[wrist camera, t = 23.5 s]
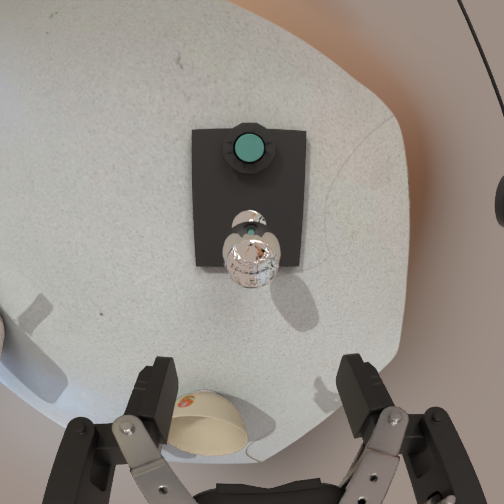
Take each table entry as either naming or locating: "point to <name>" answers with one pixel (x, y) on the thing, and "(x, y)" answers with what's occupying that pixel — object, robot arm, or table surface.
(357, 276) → the table surface
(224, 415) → the bowl
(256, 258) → the wineglass
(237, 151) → the power button
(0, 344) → the pan
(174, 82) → the table surface
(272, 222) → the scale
